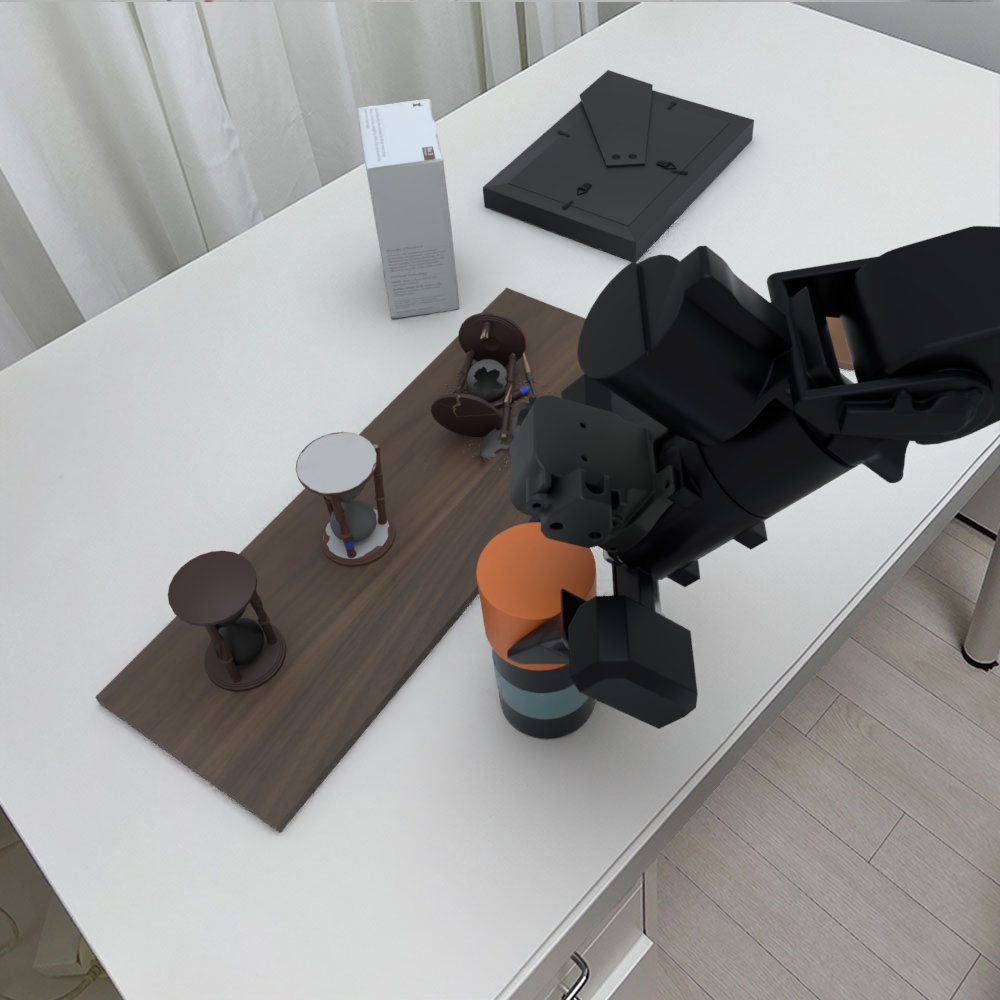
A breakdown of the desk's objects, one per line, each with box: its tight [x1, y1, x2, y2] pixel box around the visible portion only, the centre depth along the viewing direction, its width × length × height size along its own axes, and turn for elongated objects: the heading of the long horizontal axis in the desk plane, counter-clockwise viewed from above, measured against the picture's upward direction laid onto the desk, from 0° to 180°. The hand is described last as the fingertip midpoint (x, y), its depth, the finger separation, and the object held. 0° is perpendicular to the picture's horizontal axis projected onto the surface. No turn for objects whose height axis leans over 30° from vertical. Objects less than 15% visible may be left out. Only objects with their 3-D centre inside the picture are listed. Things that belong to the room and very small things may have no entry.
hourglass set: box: [94, 287, 586, 833], centre depth 74 cm, size 15×45×8 cm, turn 145°
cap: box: [476, 522, 598, 670], centre depth 59 cm, size 6×6×5 cm
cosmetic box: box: [357, 98, 460, 319], centre depth 87 cm, size 8×6×15 cm
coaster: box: [826, 317, 854, 371], centre depth 85 cm, size 7×7×1 cm
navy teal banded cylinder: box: [491, 647, 596, 740], centre depth 64 cm, size 6×6×8 cm
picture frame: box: [482, 69, 755, 263], centre depth 100 cm, size 16×3×21 cm
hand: (513, 606), depth 60 cm, fingers closed on cap, 6 cm apart
